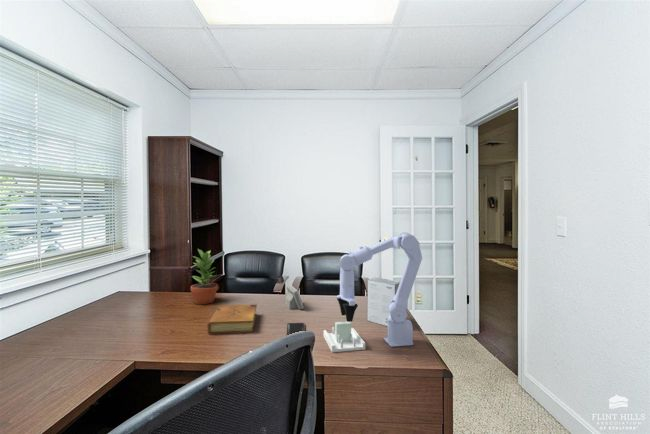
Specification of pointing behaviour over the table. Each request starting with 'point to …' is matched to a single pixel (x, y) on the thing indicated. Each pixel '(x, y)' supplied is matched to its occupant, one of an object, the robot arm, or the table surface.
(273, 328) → the table surface
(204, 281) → the potted plant
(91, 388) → the table surface
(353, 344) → the dish rack
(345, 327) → the block
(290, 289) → the grey angular sculpture
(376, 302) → the hard drive box
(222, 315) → the diary
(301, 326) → the phone
